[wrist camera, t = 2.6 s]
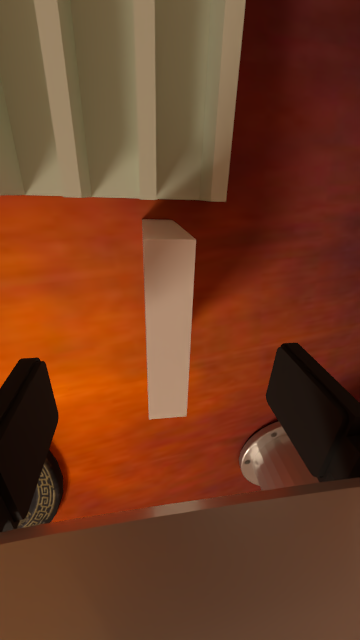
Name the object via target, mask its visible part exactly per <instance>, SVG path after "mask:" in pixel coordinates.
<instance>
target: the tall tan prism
mask: <svg viewBox="0 0 360 640" xmlns="http://www.w3.org/2000/svg"><path fill="white" fill-rule="evenodd" d="M142 231H143V262H144V293H145V323H146V353H147V380H148V407H149V419H159V418H171V417H183V416H186V415H187V397H188V379H189V360H190V342H191V324H192V306H193V288H194V270H195V252H196V239H195V238H194V237H192V236H191V235H190V234H189V233H188V232H186V231H185V230H184V229H183V228H182V227H180V226H179V225H178V224H177V223H176V222H174V221H173V220H160V219H142Z"/></svg>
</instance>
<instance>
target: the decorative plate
mask: <svg viewBox="0 0 360 640" xmlns="http://www.w3.org/2000/svg"><path fill="white" fill-rule="evenodd" d="M62 494H63V476H62V474H61V471H60V468H59V465H58V462H57V460H56V459H55V458H54V456H53V455H52V453H51V452H50V451H49V450H48V453H47V457H46V460H45V463H44V466H43V469H42V472H41V475H40V478H39V481H38V484H37V487H36V490H35V493H34V496H33V499H32V502H31V505H30V508H29V511H28V514H27V516H26V518H25V519H22V520H20V522H19V525H18V528H24V527H30V526H36V525H41V524H47V523H50V522H51V521H52V519H53V518H54V516H55V515H56V513H57V510H58V507H59V504H60V501H61V498H62ZM18 528H17V529H18Z"/></svg>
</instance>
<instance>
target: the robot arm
mask: <svg viewBox="0 0 360 640" xmlns="http://www.w3.org/2000/svg"><path fill="white" fill-rule="evenodd" d="M266 400H267V402H268V404H269V406H270V408H271V409H272V411H273V413H274V414H275V416H276V418H277V419H278V422H275V423H272V424H270V425H268V426H266V427H264V428H263V429H261V430H260V431H258V432H257V433H255V434H254V435H253V436H252V437H251V438H250V439H249V440H248V441H247V443H246V444H245V445H244V447H243V449H242V451H241V453H240V457H239V464H240V468H241V471H242V473H243V475H244V477H245V478H246V479H247V480H248V481H250V482H252V483H253V484H256V485H259V486H260V487H261V490H262V491H256V492H249V493H242V494H235V495H228V496H222V497H215V498H208V499H201V500H195V501H188V502H181V503H174V504H168V505H161V506H155V507H148V508H141V509H135V510H128V511H122V512H115V513H109V514H102V515H96V516H89V517H83V518H76V519H71V520H65V521H59V522H53V523H47V524H41V525H36V526H30V527H24V528H18V525H19V522H20V520H22V519H25V518H26V516H27V514H28V511H29V508H30V505H31V502H32V499H33V496H34V493H35V490H36V487H37V484H38V481H39V478H40V475H41V472H42V469H43V466H44V463H45V460H46V457H47V453H48V450H49V447H50V444H51V441H52V438H53V435H54V432H55V429H56V426H57V423H58V410H57V407H56V403H55V399H54V395H53V391H52V387H51V383H50V379H49V375H48V371H47V367H46V364H45V362H44V361H40V359H39V358H24V359H20V360H19V361H18V363H17V364H16V366H15V367H14V369H13V370H12V372H11V373H10V375H9V376H8V378H7V379H6V381H5V382H4V384H3V385H2V387H1V388H0V640H360V403H359V402H358V401H357V400H356V399H355V398H354V397H353V396H352V395H351V394H350V393H349V392H348V391H347V390H346V389H344V388H343V387H342V386H341V385H340V384H339V383H338V382H337V381H336V380H335V379H334V378H333V377H332V376H331V375H330V374H329V373H328V372H327V371H326V370H325V369H324V368H323V367H322V366H321V365H320V364H319V363H318V362H317V361H316V360H315V359H314V358H313V357H311V356H310V355H309V354H308V353H307V352H306V351H305V350H304V349H303V348H302V347H301V346H300V345H299V344H298V343H284V344H282V345H281V347H279V348H278V349H277V352H276V356H275V360H274V365H273V369H272V373H271V377H270V381H269V385H268V389H267V393H266ZM17 528H18V529H17Z"/></svg>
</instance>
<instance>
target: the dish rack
mask: <svg viewBox="0 0 360 640" xmlns="http://www.w3.org/2000/svg"><path fill="white" fill-rule="evenodd" d="M245 3H246V0H0V195H46V196H64V197H78V198H83V197H112V198H140V199H145V200H157V199H178V200H202V201H213V202H226V197H227V187H228V176H229V166H230V156H231V146H232V136H233V125H234V115H235V105H236V95H237V85H238V74H239V64H240V54H241V44H242V33H243V23H244V13H245Z"/></svg>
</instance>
